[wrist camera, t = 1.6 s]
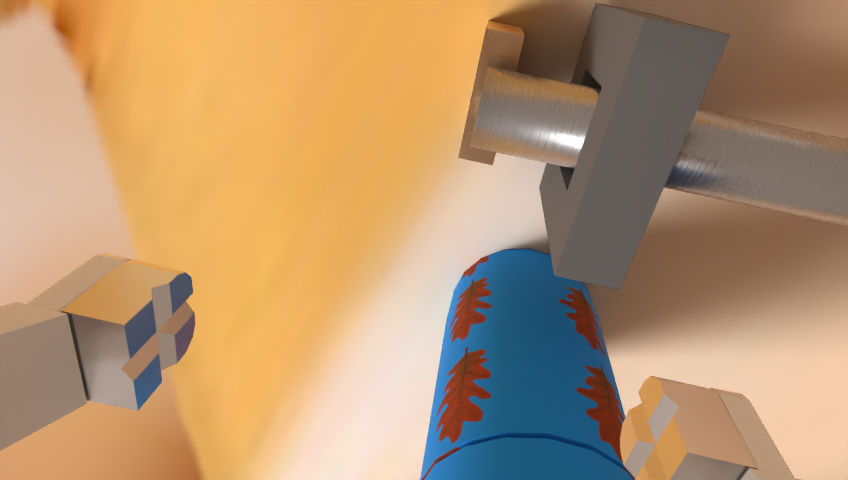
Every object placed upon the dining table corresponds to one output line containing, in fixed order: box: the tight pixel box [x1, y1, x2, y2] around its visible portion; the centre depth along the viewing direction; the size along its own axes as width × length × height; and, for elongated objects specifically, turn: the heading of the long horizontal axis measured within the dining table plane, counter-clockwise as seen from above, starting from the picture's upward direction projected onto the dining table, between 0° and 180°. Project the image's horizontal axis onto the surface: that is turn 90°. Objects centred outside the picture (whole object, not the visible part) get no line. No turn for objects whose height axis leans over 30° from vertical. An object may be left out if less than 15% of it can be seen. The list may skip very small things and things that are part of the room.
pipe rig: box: [458, 21, 848, 226], centre depth 27 cm, size 7×33×9 cm, turn 80°
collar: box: [539, 3, 730, 290], centre depth 25 cm, size 11×3×11 cm, turn 170°
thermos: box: [420, 249, 635, 480], centre depth 28 cm, size 11×11×25 cm
